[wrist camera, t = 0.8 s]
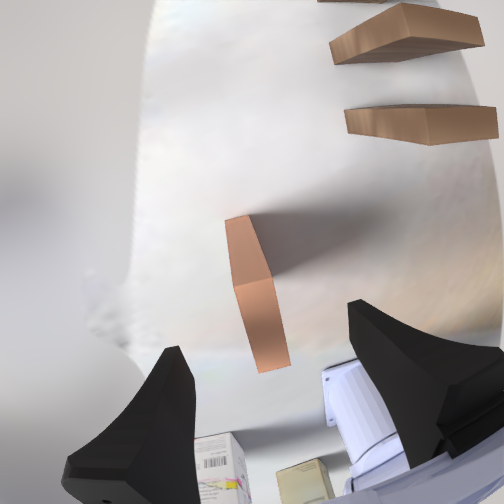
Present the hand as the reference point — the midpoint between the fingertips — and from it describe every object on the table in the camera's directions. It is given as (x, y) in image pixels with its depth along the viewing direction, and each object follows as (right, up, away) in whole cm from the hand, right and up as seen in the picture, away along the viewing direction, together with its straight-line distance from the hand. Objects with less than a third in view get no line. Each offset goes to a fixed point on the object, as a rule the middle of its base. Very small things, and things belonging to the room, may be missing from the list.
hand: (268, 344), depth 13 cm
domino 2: (+8, +13, +7) cm, 17 cm away
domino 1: (+7, +17, +5) cm, 19 cm away
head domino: (-1, +4, +9) cm, 10 cm away
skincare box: (+6, -26, +23) cm, 35 cm away
